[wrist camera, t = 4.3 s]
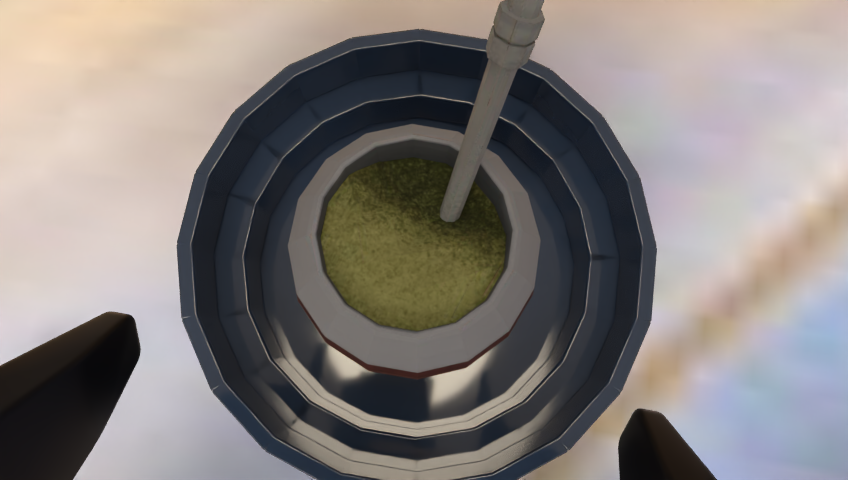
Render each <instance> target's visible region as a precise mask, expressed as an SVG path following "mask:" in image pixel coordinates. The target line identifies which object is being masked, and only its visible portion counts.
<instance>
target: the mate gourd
mask: <svg viewBox="0 0 848 480" xmlns="http://www.w3.org/2000/svg"><path fill="white" fill-rule="evenodd" d="M543 3H544V0H504V1H502V2H500V4H499V7H498V10H497V13H496V16H495V19H494V25H493V26H492V29H491V32H490V35H489V38H488V41H487V44H486V51H487V58H488V59H489V60H488V63H487V66H486V69H485V72H484V76H483V79H482V82H481V85H480V88H479V91H478V95H477V98H476V101H475V104H474V107H473V110H472V113H471V116H470V119H469V122H468V126H467V129H466V132H465V135H463V134H461V133H460V132H457V131H451V130H445V129H439V128H433V127H427V126H421V125H415V124H409V125H405V126H400V127H395V128H390V129H385V130H380V131H375V132H371V133H366V134H364V135H363V136H361V137H360V138H358V139H357V140H355V141H353V142H352V143H350V144H349V145H347V146H346V147H344V148H343V149H341V150H340V151H338V152H337V153H335V154H333V155H332V156H330V157H329V158H327V159H326V160H325V162H324V163H323V164H322V166H321V167H320V169H319V170H318V172H317V173H316V174H315V176H314V177H313V179H312V180H311V181H310V183H309V184H308V186H307V187H306V189H305V190H304V191H303V193H302V194H301V196H300V197H299V199H298V202H297V207H296V211H295V216H294V220H293V225H292V229H291V234H290V238H289V243H288V250H289V256H290V261H291V267H292V272H293V278H294V283H295V289H296V295H297V300H298V302H299V303H300V305H301V306H302V308H303V309H304V311H305V312H306V314H307V315H308V317H309V318H310V320H311V321H312V323H313V324H314V326H315V327H316V329H317V330H318V332H319V333H320V335H321V336H322V338H323V339H324V341H325V342H326V343H327V344H328V345H330V346H331V347H333V348H334V349H336V350H337V351H339V352H340V353H342V354H343V355H345V356H346V357H348V358H349V359H351V360H353V361H354V362H356V363H357V364H359V365H360V366H362V367H363V368H365V369H366V370H368V371H371V372H377V373H382V374H388V375H394V376H400V377H405V378H411V379H417V380H418V379H422V378H427V377H431V376H435V375H439V374H443V373H447V372H452V371H456V370H460V369H464V368H467V367H468V366H470V365H471V364H472V363H474V362H475V361H476V360H477V359H479V358H480V357H481V356H483V355H484V354H485V353H487V352H488V351H489V350H491V349H492V348H493V347H495V346H496V345H497V344H499V343H500V342H502V341H503V340H504V339H506V338H507V337H508V336H509V334H510V333H511V331H512V329H513V328H514V326H515V324H516V323H517V321H518V319H519V317H520V316H521V314H522V312H523V311H524V309H525V307H526V305H527V304H528V302H529V300H530V299H531V297H532V295H533V291H534V287H535V279H536V272H537V264H538V256H539V249H540V241H541V240H540V236H539V233H538V229H537V225H536V222H535V218H534V214H533V211H532V207H531V204H530V200H529V196H528V193H527V192H526V191H525V189H524V188H523V187H522V186H521V184H520V183H519V182H518V180H517V179H516V178H515V176H514V175H513V174H512V173H511V171H510V170H509V169H508V167H507V166H506V165H505V163H504V162H503V161H502V160H501V158H500V157H499V156H498V155H497V154H495V153H493V152H492V151H490V150H488V149H486V148H487V146H488V143H489V141H490V138H491V135H492V133H493V130H494V128H495V125H496V123H497V120H498V117H499V115H500V112H501V110H502V107H503V105H504V102H505V100H506V97H507V95H508V92H509V89H510V87H511V84H512V82H513V79H514V77H515V74H516V72H517V69H518V68H520V67H522V66H523V65H525V64H526V63H527V62H528V60H529V57H530V55H531V52H532V50H533V47H534V45H535V40H536V39H537V38H538V36H539V33H540V30H541V28H542V25H543V23H544V20H545V19H544V16H543V13H542V11H541V8H542V5H543Z"/></svg>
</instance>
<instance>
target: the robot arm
mask: <svg viewBox="0 0 848 480" xmlns="http://www.w3.org/2000/svg"><path fill="white" fill-rule="evenodd" d="M139 356H140V343H139V338H138V333H137V328H136V323H135V320H134V318H133V317H132V316H131V315H128V314H123V313H118V312H106V313H104V314H102V315H100V316H98V317H96V318H94V319H92V320H90V321H88V322H86V323H84V324H82V325H80V326H78V327H76V328H74V329H72V330H70V331H68V332H66V333H64V334H62V335H60V336H58V337H56V338H54V339H52V340H50V341H48V342H46V343H44V344H42V345H40V346H38V347H36V348H34V349H32V350H30V351H28V352H26V353H24V354H22V355H20V356H18V357H16V358H14V359H12V360H10V361H8V362H6V363H4V364H2V365H1V366H0V480H73V479H74V477H75V475H76V474H77V472H78V471H79V469H80V468H81V466H82V464H83V463H84V461H85V460H86V458H87V457H88V455H89V454H90V452H91V450H92V449H93V447H94V445H95V444H96V442H97V440H98V439H99V437H100V435H101V433H102V432H103V430H104V428H105V426H106V424H107V422H108V420H109V418H110V416H111V414H112V412H113V410H114V408H115V406H116V404H117V402H118V400H119V398H120V396H121V394H122V392H123V390H124V388H125V386H126V384H127V382H128V380H129V378H130V376H131V374H132V372H133V370H134V368H135V366H136V364H137V362H138V359H139ZM618 454H619V471H620V480H717V479H716V478H715V477H714V475H713V474H712V473H711V472H710V471H709V469H708V468H707V467H706V466H705V465H704V463H703V462H702V461H701V460H700V459H699V457H698V456H697V455H696V454H695V452H694V451H693V450H692V449H691V448H690V446H689V445H688V444H687V443H686V442H685V440H684V439H683V438H682V437H681V436H680V434H679V433H678V432H677V431H676V429H675V428H674V427H673V426H672V425H671V423H670V422H669V421H668V420H667V419H666V417H665V416H664V415H663V414H661V413H660V412H657V411H652V410H646V409H637V410H635V411H634V412H633V414H632V416H631V418H630V420H629V421H628V423H627V425H626V427H625V429H624V431H623V433H622V434H621V437H620V440H619V446H618Z"/></svg>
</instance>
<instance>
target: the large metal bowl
mask: <svg viewBox="0 0 848 480" xmlns="http://www.w3.org/2000/svg"><path fill="white" fill-rule="evenodd" d="M487 41H488V40H487V39H481V38H475V37H468V36H462V35H456V34H449V33H443V32H437V31H430V30H424V29H414V30H406V31H399V32H391V33H383V34H375V35H367V36H360V37H352V39H351V38H349V39H347V40H345V41H343V42H340V43H338V44H336V45H333V46H331V47H329V48H327V49H324V50H322V51H320V52H317V53H315V54H313V55H311V56H308V57H306V58H304V59H302V60H299V61H297V62H295V63H292V64H290V65H288V67H285V68H284V69H283V70H282V71H281V72H279V73H278V74H277V75H276V76H275V77H274V78H272V79H271V80H270V81H269V82H268V83H267V84H265V85H264V86H263V87H262V88H261V89H259V90H258V91H257V92H256V93H255V94H254V95H252V96H251V97H250V98H249V99H248V100H247V101H245V102H244V103H243V104H242V105H241V106H240V107H238V108H237V109H236V110H235V111H234V112H235V113H234V112H233V113H232V115H231V116H230V118H229V120H228V121H227V123H226V124H225V126H224V127H223V129H222V131H221V132H220V134H219V135H218V137H217V139H216V140H215V142H214V143H213V145H212V146H211V148H210V150H209V151H208V153H207V154H206V156H205V158H204V159H203V161H202V162H201V164H200V165H199V167H198V169H197V170H196V173H195V175H194V179H193V182H192V186H191V190H190V194H189V198H188V202H187V206H186V209H185V213H184V217H183V221H182V225H181V229H180V233H179V237H178V240H177V257H178V272H179V287H180V302H181V317H182V319H183V320H182V322H183V324H184V326H185V329H186V331H187V334H188V336H189V338H190V341H191V343H192V346H193V348H194V350H195V353H196V355H197V358H198V360H199V362H200V365H201V367H202V370H203V372H204V374H205V377H206V379H207V382H208V384H209V386H210V389H211V390H213V391H212V392H213V394H214V395H215V396H216V397H217V398H218V399H219V400H220V401H221V402H222V404H223V405H224V406H225V407H226V408H227V409H228V410H229V411H230V413H231V414H232V415H233V416H234V417H235V418H236V419H237V420H238V422H239V423H240V424H241V425H242V426H243V427H244V428H245V429H246V431H247V432H248V433H249V434H250V435H251V436H252V437H253V438H254V440H255V441H256V442H257V443H258V444H259V445H260V446H261V447H262V448H263V449H264V450H265V451H266V452H267V453H269V454H271V455H273V456H275V457H277V458H278V459H280V460H282V461H284V462H286V463H287V464H289V465H291V466H293V467H295V468H296V469H298V470H300V471H302V472H304V473H305V474H307V475H309V476H311V477H313V478H314V479H316V480H517V479H519V478H521V477H523V476H525V475H526V474H528V473H530V472H532V471H534V470H535V469H537V468H539V467H541V466H543V465H544V464H546V463H548V462H550V461H552V460H554V459H555V458H557V457H559V456H561V455H563V454H564V453H566V452H567V450H570V449H571V448H572V447H573V446H574V444H575V443H576V442H577V441H578V440H579V439H580V438H581V437H582V436H583V434H584V433H585V432H586V431H587V430H588V429H589V428H590V427H591V426H592V424H593V423H594V422H595V421H596V420H597V419H598V418H599V417H600V416H601V414H602V413H603V412H604V411H605V410H606V409H607V408H608V407H609V405H610V404H611V403H612V402H613V401H614V400H615V399H616V398H617V397H618V395H619V394H620V392H621V391H622V389H623V387H624V384H625V382H626V380H627V377H628V375H629V373H630V370H631V368H632V366H633V363H634V361H635V359H636V356H637V354H638V352H639V349H640V347H641V344H642V342H643V340H644V337H645V335H646V333H647V330H648V328H649V326H650V321H651V317H652V304H653V292H654V279H655V266H656V253H657V248H656V242H655V238H654V234H653V229H652V225H651V221H650V217H649V213H648V209H647V205H646V200H645V196H644V192H643V188H642V184H641V180H640V178H639V175H638V173H637V171H636V170H635V168H634V166H633V165H632V163H631V161H630V160H629V158H628V156H627V155H626V153H625V152H624V150H623V148H622V147H621V145H620V143H619V142H618V140H617V138H616V137H615V135H614V133H613V132H612V130H611V128H610V127H609V125H608V123H607V122H606V120H605V118H604V117H602V115H601V114H600V113H599V112H598V111H597V110H596V109H595V108H594V107H592V106H591V105H590V104H589V103H588V102H587V101H586V100H585V99H584V98H582V97H581V96H580V95H579V94H578V93H577V92H576V91H575V90H574V89H572V88H571V87H570V86H569V85H568V84H567V83H566V82H565V81H563V80H562V79H561V78H560V77H559V76H558V75H557V74H556V73H555V72H553V71H552V70H550V69H549V68H547V67H545V66H543V65H541V64H539V63H537V62H535V61H532V60H530V59H529V60H528V62H527V63H526V64H525V65H523V66H522V67H520V68H518V69H517V72H516V74H515V77H514V79H513V82H512V84H511V87H510V89H509V92H508V95H507V97H506V100H505V102H504V105H503V107H502V110H501V112H500V115H499V117H498V120H497V123H496V125H495V128H494V130H493V133H492V135H491V138H490V141H489V143H488V146H487V148H486V149H488V150H490V151H492V152H493V153H495V154H497V155H498V156H499V157H500V158H501V160H502V161H503V162H504V163H505V165H506V166H507V167H508V169H509V170H510V171H511V173H512V174H513V175H514V176H515V178H516V179H517V180H518V182H519V183H520V184H521V186H522V187H523V188H524V189H525V191H526V192H527V193H528V196H529V200H530V204H531V207H532V211H533V214H534V218H535V222H536V225H537V229H538V233H539V236H540V240H541V241H540V249H539V256H538V264H537V272H536V279H535V287H534V291H533V295H532V297H531V299H530V300H529V302H528V304H527V305H526V307H525V309H524V311H523V312H522V314H521V316H520V317H519V319H518V321H517V323H516V324H515V326H514V328H513V329H512V331H511V333H510V334H509V336H508V337H507V338H506V339H504V340H503V341H502V342H500V343H499V344H497V345H496V346H495V347H493V348H492V349H491V350H489V351H488V352H487V353H485V354H484V355H483V356H481V357H480V358H479V359H477V360H476V361H475V362H474V363H472V364H471V365H470V366H468V367H467V368H464V369H460V370H456V371H452V372H447V373H443V374H439V375H435V376H431V377H427V378H422V379H418V380H417V379H411V378H405V377H400V376H394V375H388V374H382V373H377V372H371V371H368V370H366V369H365V368H363V367H362V366H360V365H359V364H357V363H356V362H354V361H353V360H351V359H349V358H348V357H346V356H345V355H343V354H342V353H340V352H339V351H337V350H336V349H334V348H333V347H331V346H330V345H328V344H327V343H326V342H325V341H324V339H323V338H322V336H321V335H320V333H319V332H318V330H317V329H316V327H315V326H314V324H313V323H312V321H311V320H310V318H309V317H308V315H307V314H306V312H305V311H304V309H303V308H302V306H301V305H300V303H299V302H298V300H297V295H296V289H295V283H294V278H293V272H292V267H291V261H290V256H289V250H288V243H289V238H290V234H291V229H292V225H293V220H294V216H295V211H296V207H297V202H298V199H299V197H300V196H301V194H302V193H303V191H304V190H305V189H306V187H307V186H308V184H309V183H310V181H311V180H312V179H313V177H314V176H315V174H316V173H317V172H318V170H319V169H320V167H321V166H322V164H323V163H324V162H325V160H326V159H327V158H329V157H330V156H332V155H333V154H335V153H337V152H338V151H340V150H341V149H343V148H344V147H346V146H347V145H349V144H350V143H352V142H353V141H355V140H357V139H358V138H360V137H361V136H363V135H364V134H366V133H371V132H375V131H380V130H385V129H390V128H395V127H400V126H405V125H409V124H415V125H421V126H427V127H433V128H439V129H445V130H451V131H457V132H460V133H461V134H463V135H465V132H466V129H467V126H468V122H469V119H470V116H471V113H472V110H473V107H474V104H475V101H476V98H477V95H478V91H479V88H480V85H481V82H482V79H483V76H484V72H485V69H486V66H487V63H488V60H489V59H488V58H487V51H486V44H487Z"/></svg>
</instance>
